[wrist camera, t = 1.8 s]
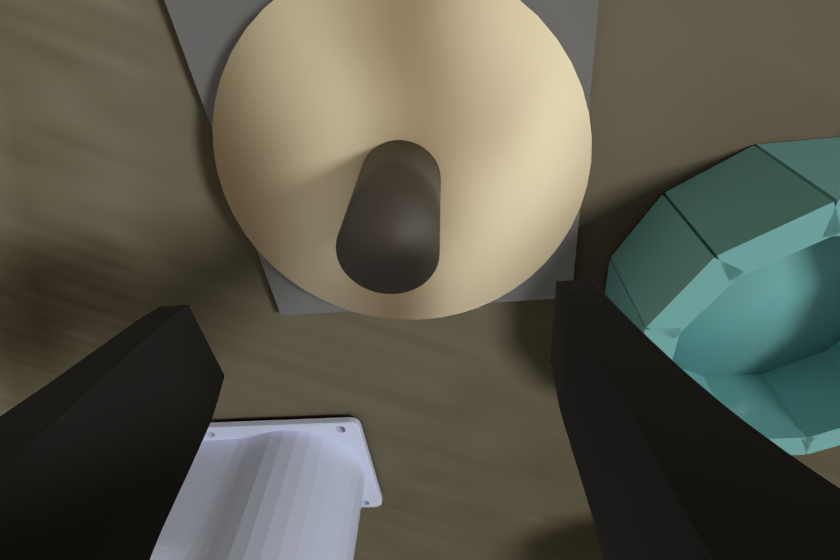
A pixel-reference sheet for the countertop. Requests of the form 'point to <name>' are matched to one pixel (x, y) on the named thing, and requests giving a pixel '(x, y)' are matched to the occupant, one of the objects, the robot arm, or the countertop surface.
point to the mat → (241, 3)
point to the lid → (402, 149)
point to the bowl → (748, 287)
